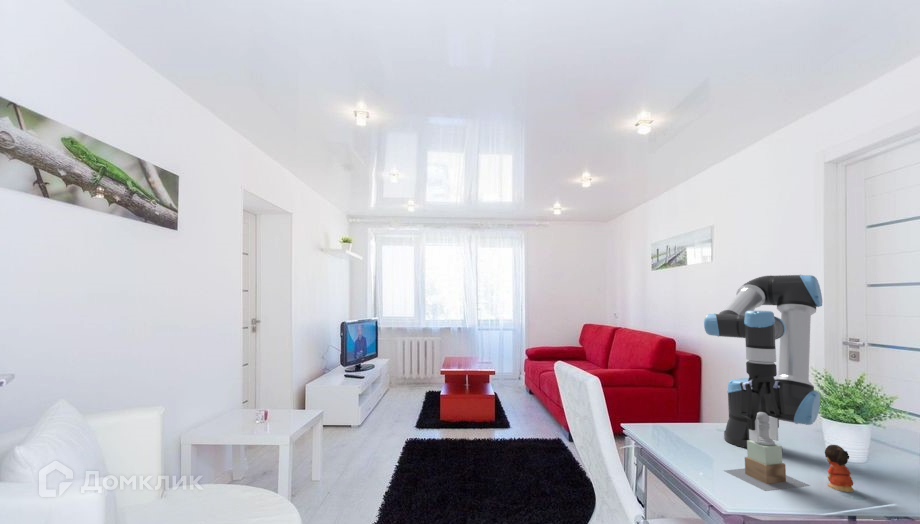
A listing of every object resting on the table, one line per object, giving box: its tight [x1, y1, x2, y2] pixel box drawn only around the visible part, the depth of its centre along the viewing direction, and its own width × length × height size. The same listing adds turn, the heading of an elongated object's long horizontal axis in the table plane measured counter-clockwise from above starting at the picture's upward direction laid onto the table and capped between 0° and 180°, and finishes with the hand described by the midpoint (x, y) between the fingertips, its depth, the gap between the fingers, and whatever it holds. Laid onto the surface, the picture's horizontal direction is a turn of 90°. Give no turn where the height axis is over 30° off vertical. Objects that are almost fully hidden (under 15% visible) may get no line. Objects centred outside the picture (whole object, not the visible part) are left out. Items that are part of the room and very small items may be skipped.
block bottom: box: [744, 456, 787, 484], centre depth 129 cm, size 7×7×5 cm
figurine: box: [824, 444, 855, 493], centre depth 123 cm, size 6×6×12 cm
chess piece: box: [754, 412, 776, 446], centre depth 129 cm, size 5×5×9 cm
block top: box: [746, 440, 783, 465], centre depth 129 cm, size 6×6×5 cm
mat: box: [723, 467, 811, 492], centre depth 128 cm, size 16×14×1 cm
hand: (763, 439), depth 129 cm, fingers open, 6 cm apart
